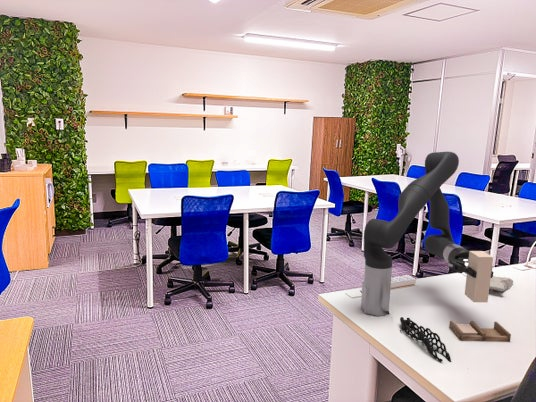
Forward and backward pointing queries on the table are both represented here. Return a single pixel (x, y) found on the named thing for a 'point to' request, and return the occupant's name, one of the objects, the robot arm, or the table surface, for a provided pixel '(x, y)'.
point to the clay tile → (466, 329)
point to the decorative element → (425, 340)
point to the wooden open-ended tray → (482, 333)
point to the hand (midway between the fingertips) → (483, 275)
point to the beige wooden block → (479, 276)
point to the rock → (500, 283)
